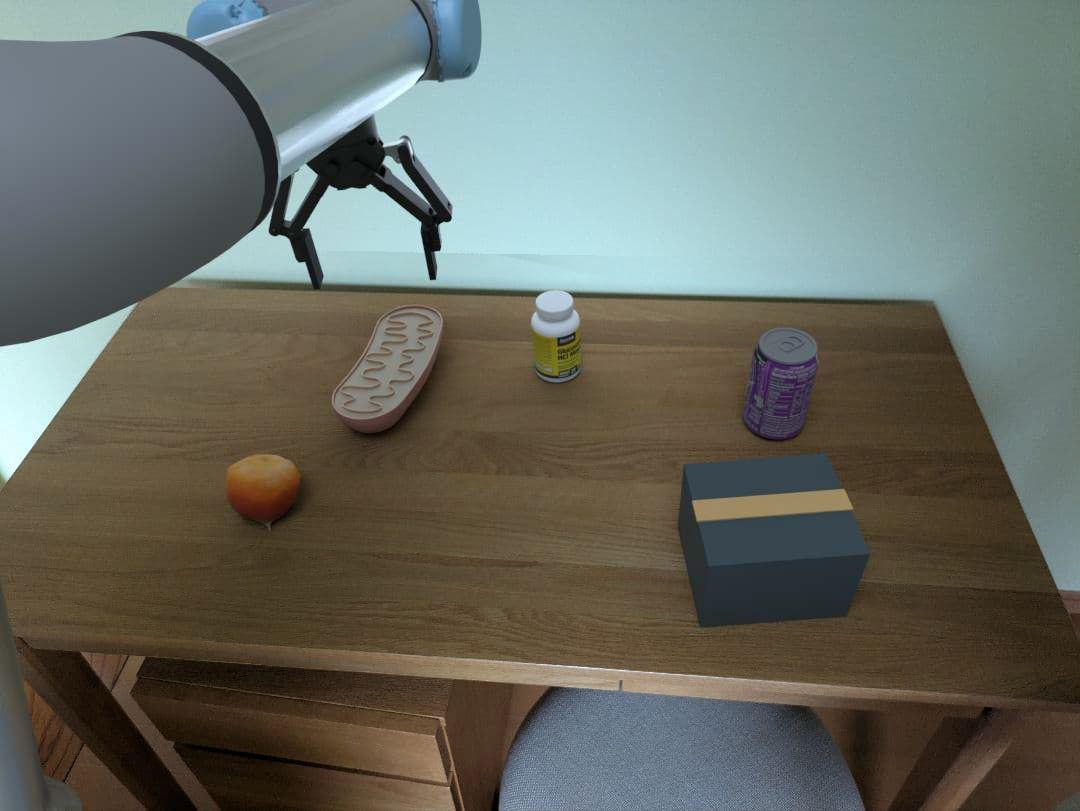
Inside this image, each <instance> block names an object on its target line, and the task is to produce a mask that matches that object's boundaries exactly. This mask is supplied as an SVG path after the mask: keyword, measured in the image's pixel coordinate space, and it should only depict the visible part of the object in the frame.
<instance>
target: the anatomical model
mask: <svg viewBox="0 0 1080 811" xmlns="http://www.w3.org/2000/svg"><path fill="white" fill-rule="evenodd" d="M443 334H444V320H443V317H442V315H441V313H440V312H439V310H436V309H435V308H433V307H431V306H428V305H423V304H408V305H402V306H399V307H396V308H393V309H390V310H389V311H387V312H386V313H384V314H383V315H381V317H379V319H378V320H377V322H376V324H375V327H374V329H373V333H372V335H371V337H370V339H369V342H368V344H367V346H366V348H365V349H364V351H363V353H362V354H361V356H360V357H359V359H358V361H357V362H356V363H355V364H354V366H353V367H352V368H351V369H350V371H349V372H348V374H346V376H345V377H344V378H343V380H341V382H340V383H339V384H338V385H337V386H336V388H335V389H334V390H333V393H332V395H331V404H332V408H333V409H334V411H335V414H336V415H337V417H338V419H340V421H341V422H342V423H343V424H345V426H347V427H348V428H350V429H352V430H353V431H357V432H361V433H364V434H365V433H367V434H374V433H380V432H383V431H386V430H387V429H390V428H391V427H393V425H395V424H396V423H397V422H398V421H399V420H400V419H401V418H402V417H403V415H404V414H405V412H406V411H407V410H408V408H409V406H410V405H411V404H412V403H413V401H414V400H415V398H417V396H418V394H419V393H420V392H421V390H422V389H423V386H425V384H426V382H427V380H428V378H429V377H430V374H431V371H432V369H433V367H434V366H435V362H436V359H437V355H438V353H439V349H440V345H441V342H442V339H443Z"/></svg>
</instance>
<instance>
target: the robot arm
mask: <svg viewBox="0 0 1080 811" xmlns="http://www.w3.org/2000/svg"><path fill="white" fill-rule="evenodd" d="M481 17H482V16H481V9H480V4H479V0H201V1H200V2H199V3H198V4H196V6H195V7H194V8H193V9H192V11H191V12H190V14H189V16H188V19H187V21H186V22H187V23H186V30H185V31H186V36H185V35H182V34H181V33H175V32H172V31H168V30H162V29H161V30H159V29H143V30H135V31H130V32H126V33H122V34H120V35H116V36H112V37H109V38H100V39H93V40H92V39H91V40H90V39H89V40H60V41H59V40H57V41H50V40H22V39H21V40H19V39H18V40H17V39H0V348H2V347H8V346H14V345H20V344H28V343H32V342H35V341H38V340H43V339H45V338H50V337H53V336H56V335H60V334H64V333H68V332H70V331H74V330H76V329H79V328H81V327H84V326H86V325H89V324H92V323H94V322H97V321H99V320H102V319H104V318H106V317H109V316H111V315H113V314H116V313H119V312H120V311H122V310H124V309H127V308H129V307H131V306H133V305H135V304H138V303H140V302H142V301H144V300H146V299H148V298H150V297H152V296H153V295H156V294H158V293H159V292H161V291H163V290H165V289H167V288H168V287H170V286H173V285H174V284H176V283H178V282H181V280H183V279H184V278H187V277H188V276H190V275H191V274H193V273H194V272H196V271H198V270H199V269H201V268H203V267H204V266H206V265H208V264H209V263H211V262H212V261H214V260H215V259H217V258H219V257H220V256H221V255H223V254H225V253H226V252H227V251H229V250H231V249H232V248H233V247H234V246H235V245H236V244H238V243H239V242H241V240H242V239H244V238H245V237H247V235H249V234H250V233H251V232H253V231H254V230H255V229H257V227H259V226H260V225H261V224H262V223H263V222H264V221H265V220H266V218H267V217H268V215H269V214H270V213H271V215H270V220H269V226H268V234H269V235H270V236H272V237H279V236H282V237H285V238H287V239H288V240H289V243H290V246H291V249H292V252H293V255H294V258H295V260H296V261H297V263H299V264H301V263H302V264H303V263H305V266H306V270H307V273H308V276H309V278H310V279H309V280H310V282H311V285H312V289H313V290H321V288H322V285H323V281H324V277H325V276H324V272H323V269H322V266H321V262H320V258H319V255H318V252H317V249H316V246H315V242H314V239H313V236H312V232H311V228H310V227H305V226H306V224H307V222H308V221H309V219H310V218H311V216H312V214H313V212H314V211H315V209H316V207H317V206H318V204H319V203H320V201H321V199H322V198H323V196H325V194H326V192H327V191H328V189H329V187H331V188H333V189H336V190H337V191H338V192H339V191H346V190H348V189H358V190H363V189H367V187H368V186H370V185H371V186H372V187H373V188H374V189H376V190H377V191H378V192H380V193H384V194H385V195H386V196H388V198H390V199H391V200H393V201H394V202H395V203H397V205H399V206H400V207H401V208H403V209H404V210H405V211H406V212H407V213H409V214H410V215H411V216H412V217H414V218H415V219H416V220H418V222H420V230H419V231H420V232H419V233H420V237H421V243H422V248H423V253H424V258H425V263H426V268H427V273H428V278H429V281H437V277H438V276H437V275H438V273H437V272H438V263H437V257H436V252H441V250H442V243H443V239H442V234H441V227H440V225H442V224H443V223H450V222H451V221H452V220H453V210H454V209H453V207H454V206H453V204H452V203H451V201H450V200H449V198H448V197H447V196H446V194H445V193H444V192H443V190H442V189H441V188H440V187H439V185H438V184H437V182H436V181H435V179H434V178H433V177H432V176H431V174H430V173H429V171H428V170H427V169H426V167H425V166H424V164H423V163H422V162H421V161H420V159H419V158H418V156H417V155H416V153H415V150H414V146H413V144H412V140H411V138H410V137H409V136H408V135H407V134H406V135H405V134H404V135H403V134H402V135H401V136H400V137H399V139H398V140H395V141H389V142H385V143H384V142H383V140H382V139H381V138H380V134H379V132H378V127H377V122H376V117H375V114H376V113H377V112H379V111H381V110H382V109H383V108H384V107H386V106H387V105H389V104H390V103H391V102H393V101H394V100H395V99H397V98H398V97H400V96H401V95H403V94H404V93H405V92H407V90H410V88H412V87H413V86H415V85H417V84H418V83H420V82H424V81H430V82H431V81H432V82H433V81H434V82H437V83H444V82H446V81H447V82H448V81H460V80H461V81H462V80H467V79H469V78H470V77H472V76H473V75H474V74H475V72H476V70H477V68H478V65H479V62H480V57H481V52H482V41H483V40H482V38H483V37H482V18H481ZM386 157H390V158H392V160H393V161H394V162H395V163H396V164H398V165H400V164H401V167H402V169H403V171H404V172H405V174H406V175H407V176H408V178H409V179H410V180H411V182H412V183H413V184H414V185H415V187H416V188H417V190H418V191H419V192H420V194H421V195H422V196H423V198H424V199H423V198H422V197H421V196H420V195H418V194H417V193H416V192H415V191H414V190H413V189H412V188H411V187H409V186H408V185H406V183H404V182H403V181H402V180H400V179H399V178H398V177H397V176H396V175H395V174H394V173H393V171H392V170H391V169H390V168H389V167H388V166H387V165H386V164H385V163H384V162H385V159H386ZM305 165H306V166H307V167H308V168H309V169H310V170H311V171H312V172H314V173H315V174H316V175H317V176H316V178H315V179H314V181H313V183H312V185H311V187H310V188H309V190H308V192H306V195H305V196H304V198H303V200H302V202H301V204H300V205H299V207H298V209H297V211H296V212H295V213H294V215H293V217H292V218H291V220H288V219H286V216H287V215H286V214H287V211H288V205H289V201H290V197H291V192H292V187H293V184H294V179H295V175H296V173H298V172H299V171H300V169H301V168H302V167H303V166H305ZM20 665H21V664H20V660H19V656H18V651H17V648H16V642H15V638H14V633H13V628H12V624H11V619H10V614H9V610H8V605H7V600H6V596H5V591H4V586H3V582H2V577H1V576H0V811H84V808H83V805H82V801H81V799H80V797H79V796H78V794H77V793H76V792H75V790H74V789H73V788H72V787H71V786H70V785H68V784H67V783H65V782H63V781H62V780H59V779H56V778H53V777H50V776H47V775H44V771H43V768H42V763H41V759H40V753H39V749H38V745H37V739H36V735H35V731H34V726H33V721H32V717H31V712H30V711H31V710H30V708H29V702H28V698H27V693H26V688H25V684H24V680H23V674H22V670H21V666H20Z"/></svg>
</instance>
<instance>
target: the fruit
mask: <svg viewBox="0 0 1080 811" xmlns="http://www.w3.org/2000/svg"><path fill="white" fill-rule="evenodd" d="M301 478H302V477H301V473H300V471H299V469H298V467H297V466H296V465H295V463H294V462H293V461H291V460H290V459H287V458H284V457H282V456H280V455H277V454H272V453H271V454H270V453H264V454H263V453H261V454H253V455H249V456H246V457H244V458H242V459H240V460H237V461H236V462H235V463H233V464H231V465H229V467H228V468H227V470H226V475H225V485H224V486H225V495H226V498H227V501H228V503H229V505H230V506H231V508H232V509H233V510H234V511H235V512H236V513H237V514H238V516H239V517H240V518H242V521H244V520H245V519H249V520H252V521H255V522H258V523H259V524H262V525H264V526H266V527H267V530H268V532H270V533H271V531H272V527H271V526H272V523H273V522H274V521H276V520H279V519H280V518H281V517H282V516H284V515H285V514H286V513H287V512H288V511H289V510H290V508H291V507H292V506H293V503H294V502H295V499H296V497H297V494H298V493H299V489H300V487H301Z"/></svg>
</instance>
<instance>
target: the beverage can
mask: <svg viewBox="0 0 1080 811" xmlns="http://www.w3.org/2000/svg"><path fill="white" fill-rule="evenodd" d="M819 363H820V358H819V355H818V343H817V341H816V340H815V338H814V337H813V336H812V335H811V334H809V333H807V332H805V331H804V330H800V329H799V328H798V329H797V328H793V327H775V328H771V329H769V330H767V331H765V332H764V333H763V334H762V335H761V336H760V338H759V342H758V344H757V345H756V346H755V347H754V350H753V353H752V358H751V364H750V369H749V370H750V371H749V375H748V383H747V389H746V395H745V401H744V407H743V412H742V417H743V421H744V423H745V425H746V427H747V428H748V429H749V430H750V431H752V432H753V433H754V434H756V435H758V436H760V437H763V438H766V439H770V440H787V439H790V438H793V437H795V436H796V435H798V434H800V432H802V430H803V429H804V427H805V424H806V419H807V415H808V412H809V411H808V410H809V406H810V402H811V398H812V394H813V390H814V385H815V381H816V377H817V372H818V369H819V365H820V364H819Z"/></svg>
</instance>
